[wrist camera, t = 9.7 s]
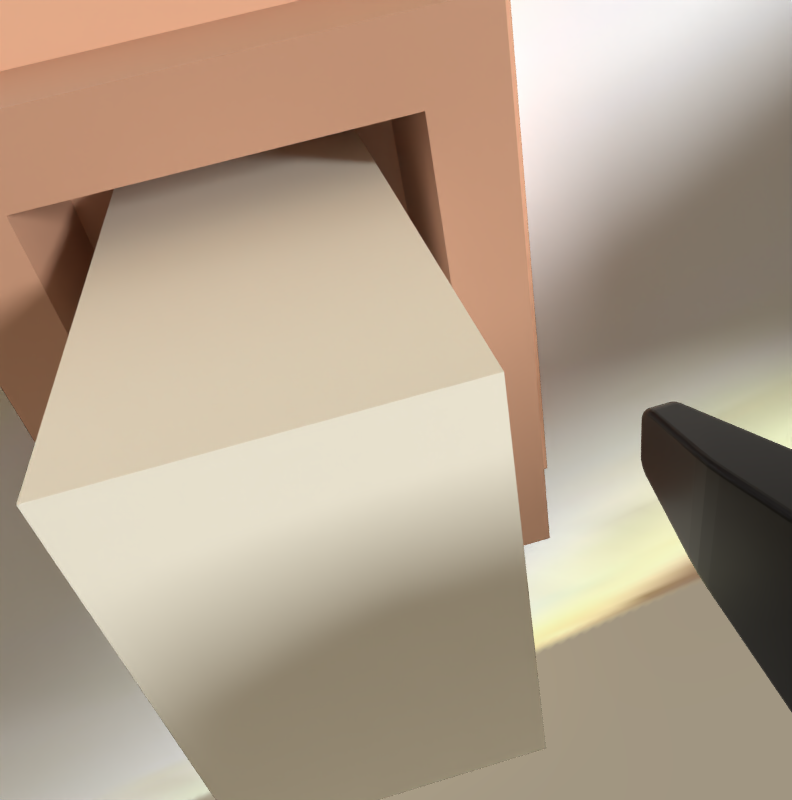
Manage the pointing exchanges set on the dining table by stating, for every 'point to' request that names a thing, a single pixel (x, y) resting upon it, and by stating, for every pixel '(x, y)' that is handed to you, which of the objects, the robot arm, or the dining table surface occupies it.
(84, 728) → the dining table surface
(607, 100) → the dining table surface
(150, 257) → the plug
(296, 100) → the dock
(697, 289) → the dining table surface
